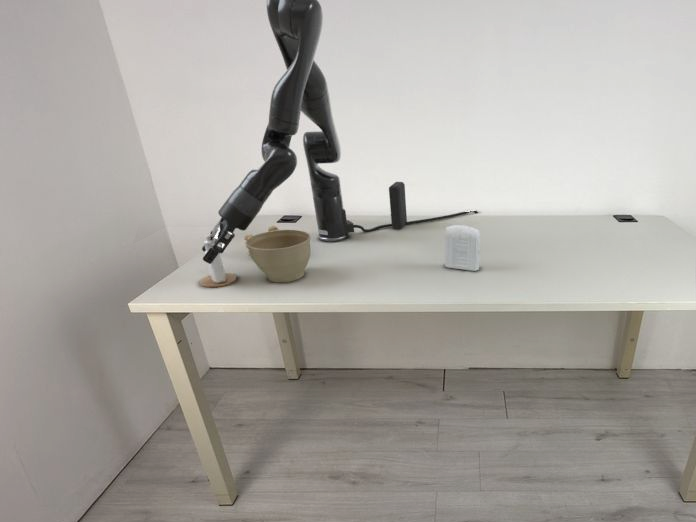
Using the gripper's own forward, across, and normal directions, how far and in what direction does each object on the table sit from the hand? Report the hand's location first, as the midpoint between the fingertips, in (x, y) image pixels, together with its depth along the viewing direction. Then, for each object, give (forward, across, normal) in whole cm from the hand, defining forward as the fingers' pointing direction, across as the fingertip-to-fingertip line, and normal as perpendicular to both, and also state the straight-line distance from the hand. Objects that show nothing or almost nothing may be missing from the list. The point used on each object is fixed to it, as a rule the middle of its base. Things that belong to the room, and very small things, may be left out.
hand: (205, 256), depth 124 cm
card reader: (-40, +27, -50) cm, 69 cm away
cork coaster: (+4, 0, -6) cm, 7 cm away
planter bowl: (-8, -5, -18) cm, 20 cm away
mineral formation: (-7, +15, -18) cm, 24 cm away
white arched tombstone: (-41, -21, -51) cm, 69 cm away
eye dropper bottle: (+4, 0, -6) cm, 7 cm away
